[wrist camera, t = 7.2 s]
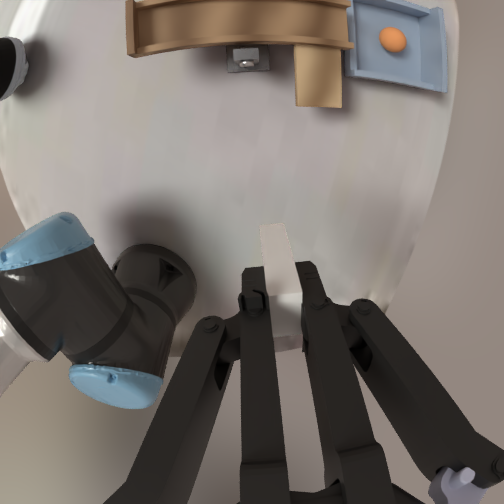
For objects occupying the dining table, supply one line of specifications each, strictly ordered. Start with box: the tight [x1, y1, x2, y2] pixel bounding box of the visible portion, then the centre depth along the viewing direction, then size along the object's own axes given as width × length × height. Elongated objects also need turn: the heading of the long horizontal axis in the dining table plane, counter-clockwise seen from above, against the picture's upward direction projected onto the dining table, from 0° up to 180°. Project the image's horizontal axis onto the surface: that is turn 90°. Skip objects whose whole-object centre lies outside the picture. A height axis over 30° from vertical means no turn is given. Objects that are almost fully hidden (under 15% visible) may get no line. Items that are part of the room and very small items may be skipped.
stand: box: [226, 44, 269, 72], centre depth 23 cm, size 5×11×8 cm, turn 3°
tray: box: [344, 0, 447, 93], centre depth 23 cm, size 12×12×6 cm
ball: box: [379, 27, 407, 52], centre depth 24 cm, size 4×4×4 cm
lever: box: [126, 0, 354, 108], centre depth 21 cm, size 22×13×3 cm, turn 93°
